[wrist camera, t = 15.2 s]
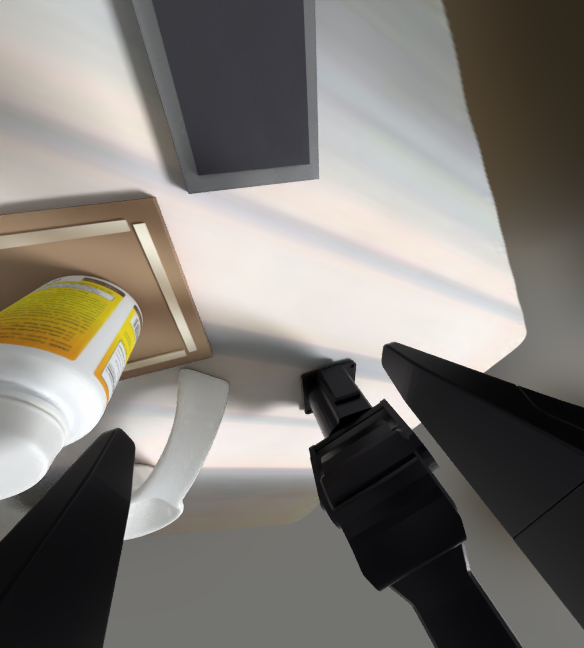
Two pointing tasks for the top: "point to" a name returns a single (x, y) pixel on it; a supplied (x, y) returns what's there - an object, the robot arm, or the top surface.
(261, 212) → the top surface
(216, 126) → the pad
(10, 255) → the brown flat square
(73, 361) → the supplement bottle
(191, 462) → the spoon rest
